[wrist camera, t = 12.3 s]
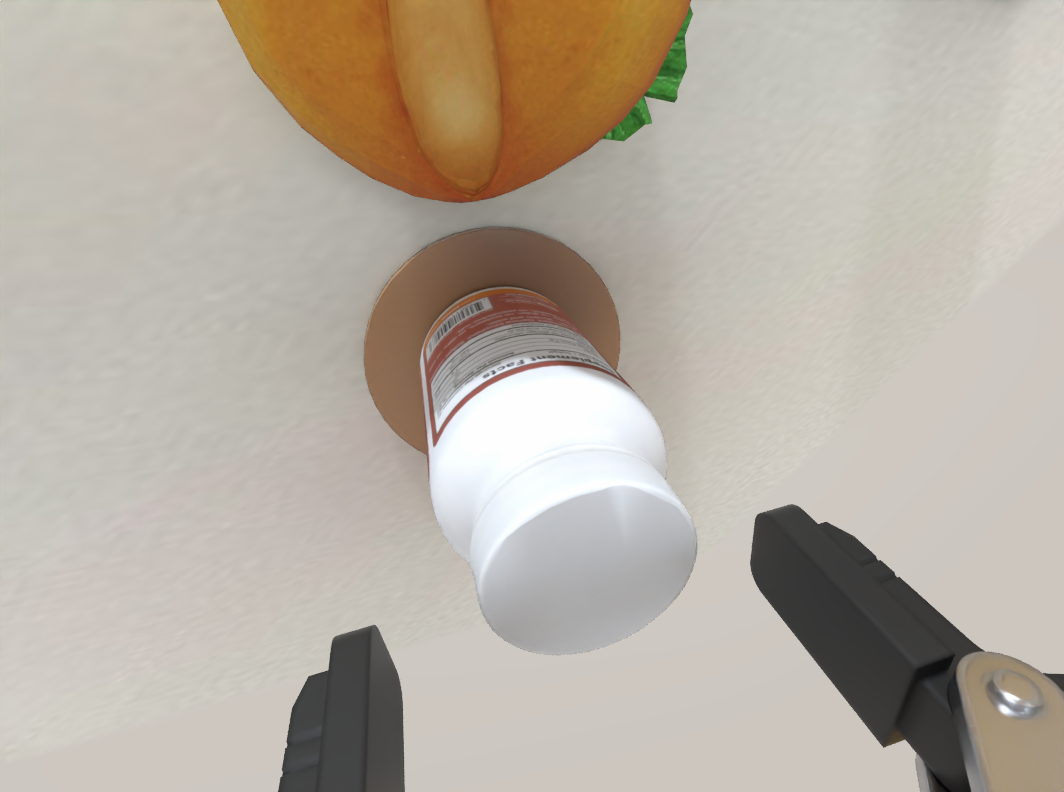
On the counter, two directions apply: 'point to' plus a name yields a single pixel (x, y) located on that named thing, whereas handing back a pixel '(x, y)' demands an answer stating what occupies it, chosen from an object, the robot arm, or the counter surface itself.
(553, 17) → the cheeseburger
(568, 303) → the coaster
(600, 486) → the pill bottle
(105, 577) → the counter surface
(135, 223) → the counter surface
